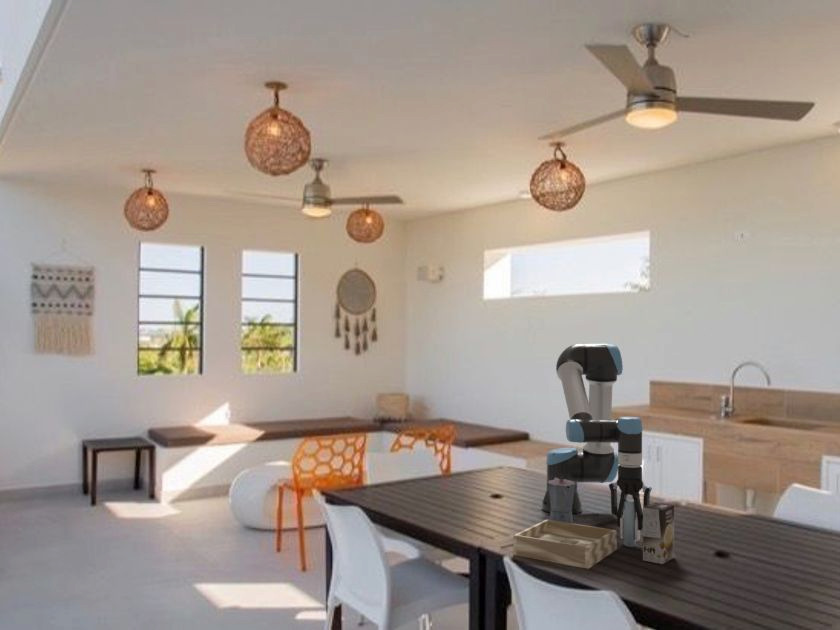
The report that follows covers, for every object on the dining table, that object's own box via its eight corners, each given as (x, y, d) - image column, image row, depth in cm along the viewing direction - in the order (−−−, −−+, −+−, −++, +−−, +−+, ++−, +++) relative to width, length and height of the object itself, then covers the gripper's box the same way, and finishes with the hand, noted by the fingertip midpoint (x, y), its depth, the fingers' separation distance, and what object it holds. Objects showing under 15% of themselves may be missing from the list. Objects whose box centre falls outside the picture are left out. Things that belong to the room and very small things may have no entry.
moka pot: (557, 539, 250) (557, 478, 250) (537, 527, 265) (537, 470, 265) (583, 537, 252) (583, 477, 253) (562, 526, 267) (562, 469, 268)
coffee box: (663, 564, 222) (662, 509, 223) (642, 560, 226) (642, 506, 227) (674, 557, 229) (674, 504, 230) (654, 554, 233) (654, 501, 234)
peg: (626, 543, 245) (626, 499, 246) (637, 544, 243) (637, 501, 244) (622, 545, 242) (622, 501, 243) (633, 547, 240) (633, 503, 241)
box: (546, 537, 251) (546, 519, 252) (616, 549, 238) (616, 530, 238) (513, 554, 232) (513, 535, 232) (588, 568, 218) (588, 547, 218)
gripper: (600, 464, 245) (600, 537, 245) (653, 469, 236) (653, 545, 235) (608, 461, 251) (608, 532, 251) (660, 466, 242) (660, 540, 241)
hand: (630, 538), depth 243 cm, fingers open, 4 cm apart
